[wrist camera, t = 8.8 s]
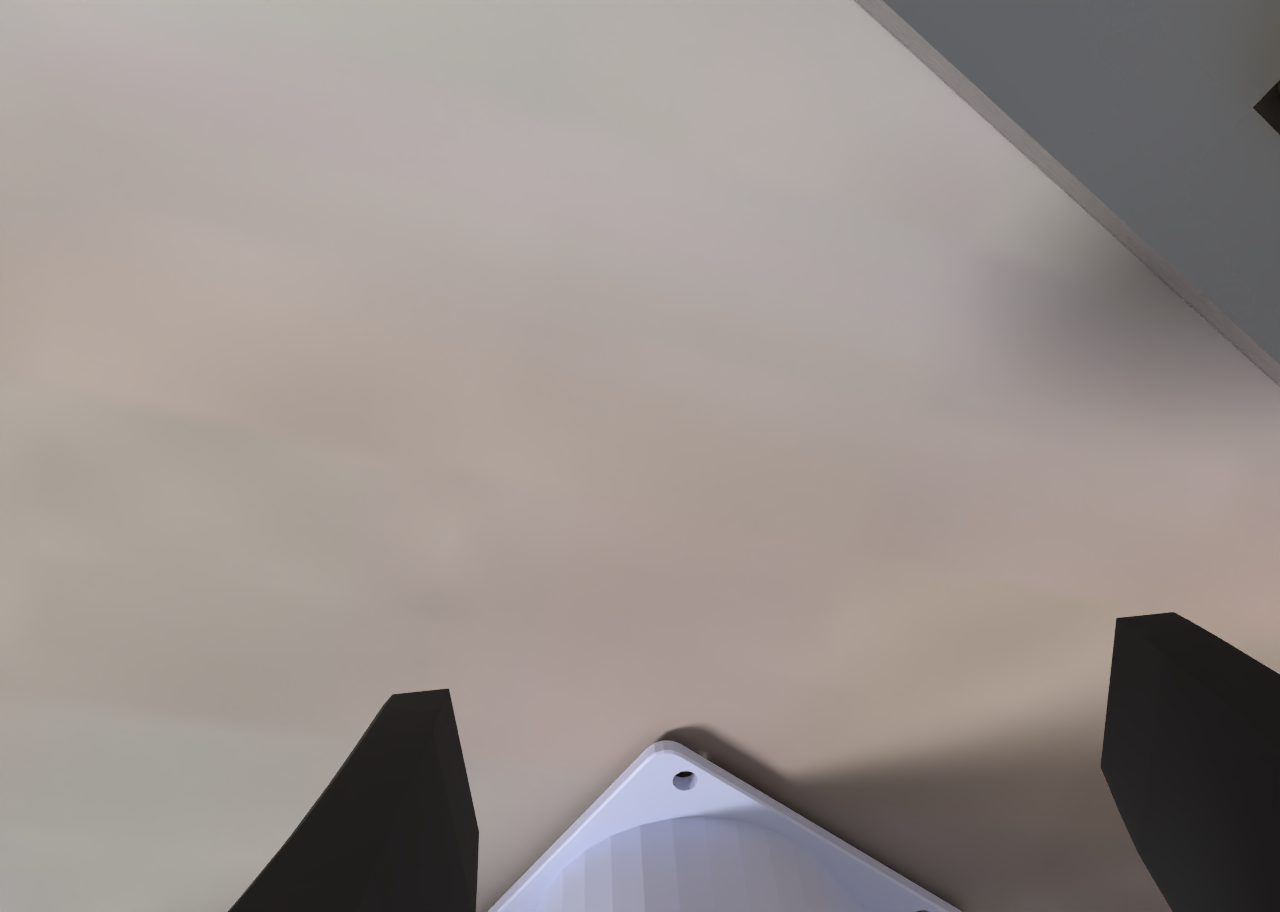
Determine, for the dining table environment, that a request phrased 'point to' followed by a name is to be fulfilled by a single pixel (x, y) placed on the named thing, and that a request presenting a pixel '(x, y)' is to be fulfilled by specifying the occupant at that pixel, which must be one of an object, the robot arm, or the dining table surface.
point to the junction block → (1136, 129)
